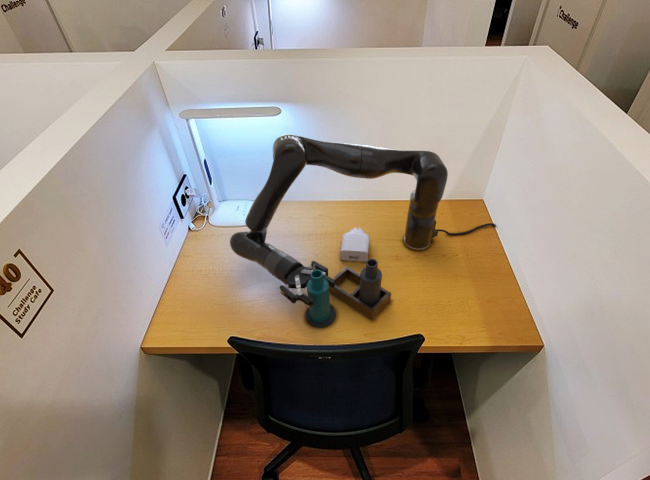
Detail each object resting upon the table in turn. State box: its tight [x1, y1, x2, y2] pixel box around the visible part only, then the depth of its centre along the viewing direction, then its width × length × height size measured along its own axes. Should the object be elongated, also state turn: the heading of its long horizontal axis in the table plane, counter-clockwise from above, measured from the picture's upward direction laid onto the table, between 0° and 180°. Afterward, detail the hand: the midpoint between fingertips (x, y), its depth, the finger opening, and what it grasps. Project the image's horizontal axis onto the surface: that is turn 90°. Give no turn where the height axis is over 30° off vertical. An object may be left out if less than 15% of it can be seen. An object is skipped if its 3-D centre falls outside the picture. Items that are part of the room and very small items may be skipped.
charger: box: [339, 226, 370, 263], centre depth 128 cm, size 5×9×15 cm
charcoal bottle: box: [358, 258, 383, 308], centre depth 106 cm, size 6×6×18 cm
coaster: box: [305, 304, 337, 329], centre depth 109 cm, size 9×9×1 cm
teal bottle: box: [306, 270, 331, 322], centre depth 102 cm, size 6×6×18 cm
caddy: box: [329, 266, 392, 321], centre depth 113 cm, size 9×17×4 cm, turn 49°
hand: (323, 294), depth 100 cm, fingers open, 8 cm apart
